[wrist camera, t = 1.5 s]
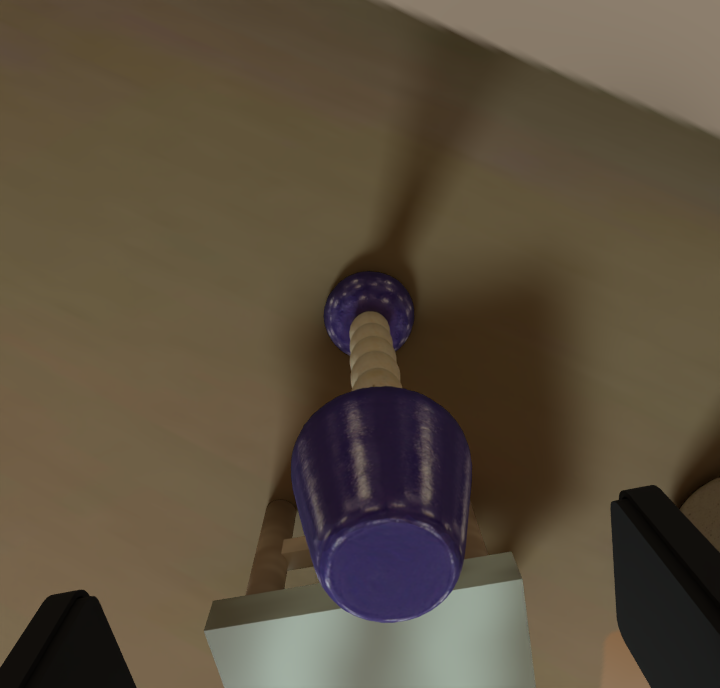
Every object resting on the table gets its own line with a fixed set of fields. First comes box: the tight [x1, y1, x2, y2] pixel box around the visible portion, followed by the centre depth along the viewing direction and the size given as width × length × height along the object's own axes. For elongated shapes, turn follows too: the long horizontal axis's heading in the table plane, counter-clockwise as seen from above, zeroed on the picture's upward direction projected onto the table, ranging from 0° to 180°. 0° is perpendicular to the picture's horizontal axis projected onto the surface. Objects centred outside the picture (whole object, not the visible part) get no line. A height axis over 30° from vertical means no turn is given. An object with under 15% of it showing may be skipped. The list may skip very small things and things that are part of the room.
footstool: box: [204, 500, 536, 688], centre depth 27 cm, size 12×12×9 cm
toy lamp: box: [291, 271, 472, 623], centre depth 19 cm, size 5×5×17 cm
